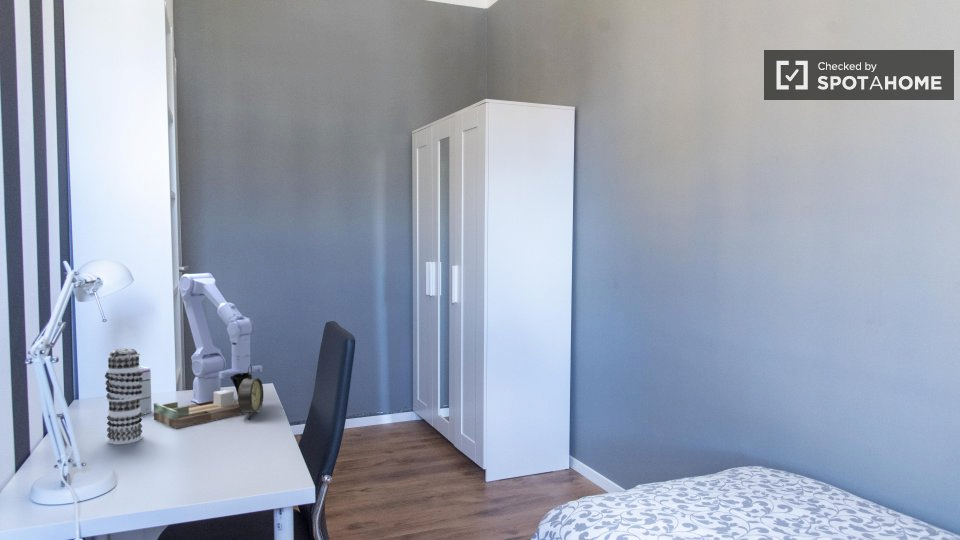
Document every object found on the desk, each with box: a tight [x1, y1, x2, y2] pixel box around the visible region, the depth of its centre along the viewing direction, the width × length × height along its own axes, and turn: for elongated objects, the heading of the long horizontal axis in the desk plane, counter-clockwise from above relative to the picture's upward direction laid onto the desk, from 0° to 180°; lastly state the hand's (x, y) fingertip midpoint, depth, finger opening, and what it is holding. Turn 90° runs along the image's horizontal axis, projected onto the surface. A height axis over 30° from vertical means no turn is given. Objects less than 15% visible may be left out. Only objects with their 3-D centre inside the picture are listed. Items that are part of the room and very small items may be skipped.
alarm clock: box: [237, 364, 264, 420], centre depth 207 cm, size 11×5×16 cm, turn 179°
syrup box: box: [139, 365, 153, 415], centre depth 209 cm, size 6×6×14 cm
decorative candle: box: [104, 348, 143, 445], centre depth 182 cm, size 9×9×25 cm
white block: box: [214, 389, 235, 407], centre depth 212 cm, size 4×4×4 cm
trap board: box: [153, 399, 245, 430], centre depth 207 cm, size 14×24×5 cm, turn 140°
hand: (241, 396), depth 217 cm, fingers closed
